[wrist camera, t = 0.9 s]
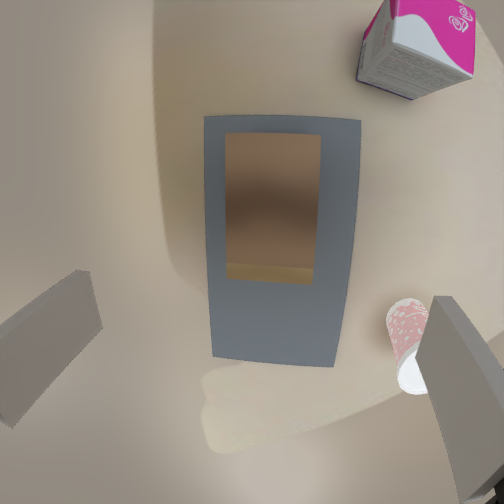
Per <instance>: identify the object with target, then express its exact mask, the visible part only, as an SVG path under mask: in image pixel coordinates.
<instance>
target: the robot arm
mask: <svg viewBox="0 0 504 504" xmlns="http://www.w3.org/2000/svg"><path fill="white" fill-rule="evenodd" d="M102 329H103V326H102V322H101V318H100V315H99V311H98V307H97V303H96V299H95V295H94V290H93V286H92V281H91V277H90V272H89V271H81V270H76V271H74V272H73V273H71V274H70V275H68V276H67V277H65V278H64V279H62V280H61V281H59V282H58V283H57V284H55V285H54V286H52V287H51V288H49V289H48V290H47V291H45V292H44V293H42V294H41V295H40V296H38V297H37V298H36V299H34V300H33V301H32V302H30V303H29V304H27V305H26V306H25V307H23V308H22V309H21V310H19V311H18V312H17V313H15V314H14V315H13V316H11V317H10V318H9V319H7V320H6V321H5V322H3V323H2V324H1V325H0V421H1V422H2V423H4V424H5V425H7V426H8V427H10V428H11V429H13V427H14V426H15V425H16V423H18V421H19V420H20V419H21V418H22V416H23V415H24V414H25V413H26V412H27V411H28V410H29V409H30V407H31V406H32V405H33V404H34V403H35V401H36V400H37V399H38V398H39V397H40V396H41V395H42V394H43V392H44V391H45V390H46V389H47V388H48V387H49V386H50V385H51V383H52V382H53V381H54V380H55V379H56V378H57V377H58V376H59V375H60V374H61V372H62V371H63V370H64V369H65V368H66V367H67V366H68V365H69V363H71V361H72V360H73V359H74V358H75V357H76V356H77V355H78V354H79V353H80V352H81V351H82V350H83V349H84V348H85V347H86V345H87V344H88V343H89V342H90V341H91V340H92V339H93V338H94V337H95V336H96V335H97V334H98V333H99V332H100V331H101V330H102ZM415 359H416V362H417V364H418V367H419V369H420V372H421V375H422V377H423V380H424V383H425V385H426V388H427V391H428V394H429V396H430V399H431V402H432V405H433V408H434V411H435V414H436V417H437V420H438V423H439V426H440V430H441V433H442V436H443V439H444V443H445V446H446V450H447V453H448V457H449V461H450V464H451V468H452V472H453V476H454V480H455V484H456V488H457V493H458V498H459V502H460V504H464V503H468V502H471V501H474V500H477V499H480V498H482V497H483V496H485V495H486V494H487V493H488V492H489V491H490V490H491V489H492V488H493V487H494V489H495V493H496V495H495V496H493V497H492V498H491V499H490V500H489V501H488V502H486V503H485V504H504V369H503V368H502V367H501V365H500V364H499V362H498V361H497V359H496V357H495V356H494V354H493V353H492V351H491V350H490V348H489V347H488V345H487V344H486V342H485V341H484V339H483V338H482V337H481V335H480V334H479V332H478V331H477V330H476V328H475V327H474V325H473V324H472V323H471V321H470V320H469V318H468V317H467V316H466V314H465V313H464V312H463V310H462V309H461V308H460V306H459V305H458V304H457V303H456V301H455V300H454V299H453V297H452V296H434V298H433V302H432V305H431V309H430V312H429V316H428V319H427V322H426V326H425V329H424V332H423V335H422V338H421V341H420V344H419V347H418V350H417V353H416V356H415Z"/></svg>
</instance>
